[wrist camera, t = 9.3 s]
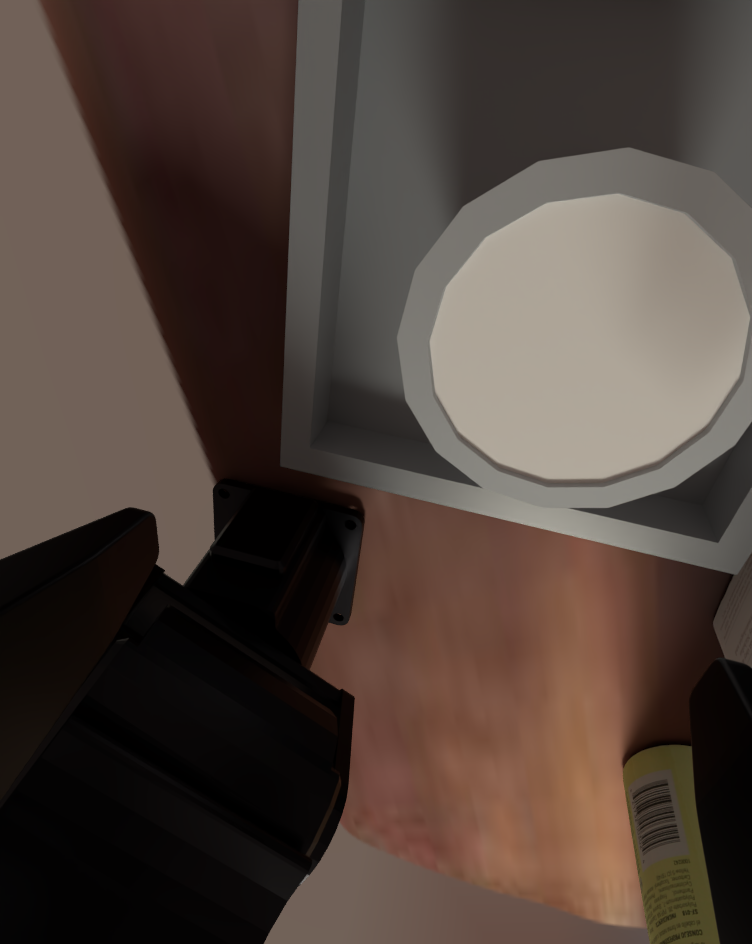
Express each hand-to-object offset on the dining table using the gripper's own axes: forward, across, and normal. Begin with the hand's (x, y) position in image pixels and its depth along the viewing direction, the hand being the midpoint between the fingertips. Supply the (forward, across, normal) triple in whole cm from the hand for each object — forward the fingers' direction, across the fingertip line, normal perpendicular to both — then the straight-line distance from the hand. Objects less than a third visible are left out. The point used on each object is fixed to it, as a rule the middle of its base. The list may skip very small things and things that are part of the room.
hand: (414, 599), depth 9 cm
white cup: (+11, -2, -3) cm, 12 cm away
